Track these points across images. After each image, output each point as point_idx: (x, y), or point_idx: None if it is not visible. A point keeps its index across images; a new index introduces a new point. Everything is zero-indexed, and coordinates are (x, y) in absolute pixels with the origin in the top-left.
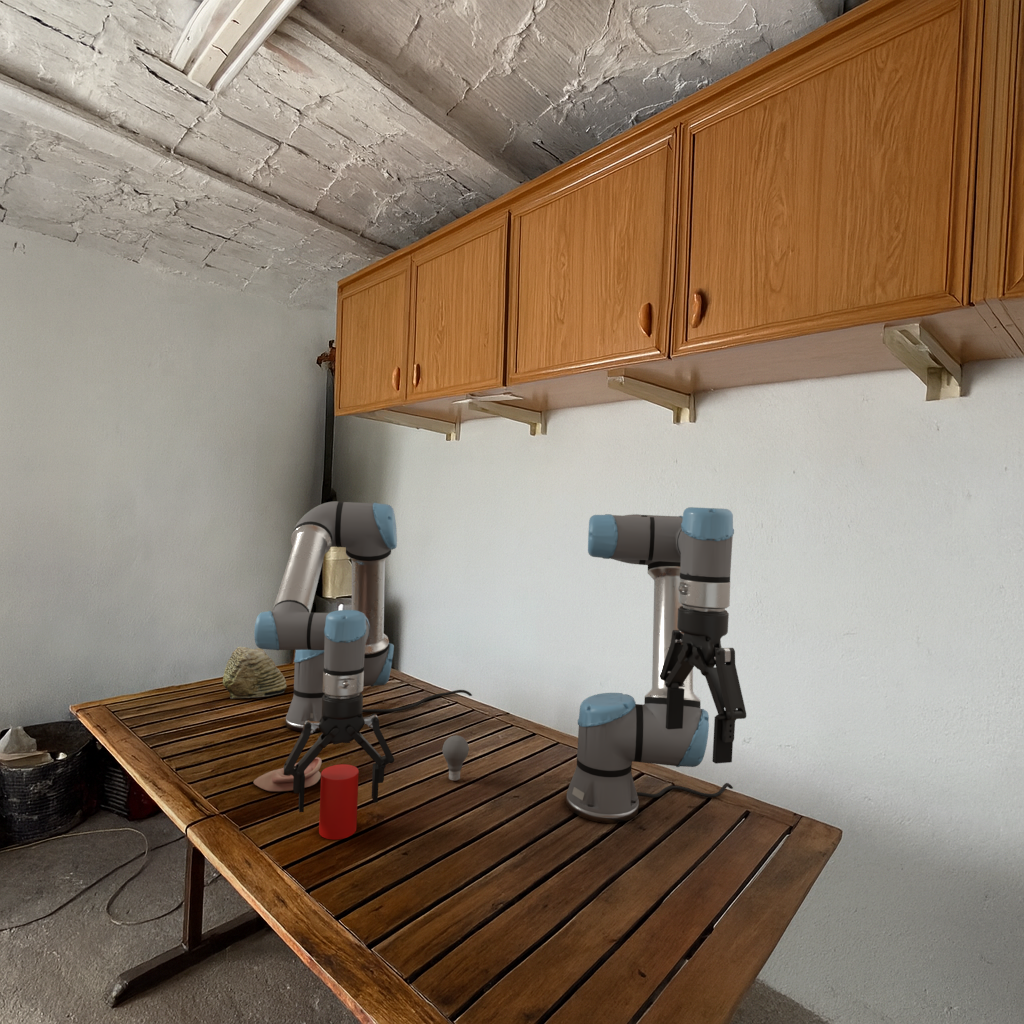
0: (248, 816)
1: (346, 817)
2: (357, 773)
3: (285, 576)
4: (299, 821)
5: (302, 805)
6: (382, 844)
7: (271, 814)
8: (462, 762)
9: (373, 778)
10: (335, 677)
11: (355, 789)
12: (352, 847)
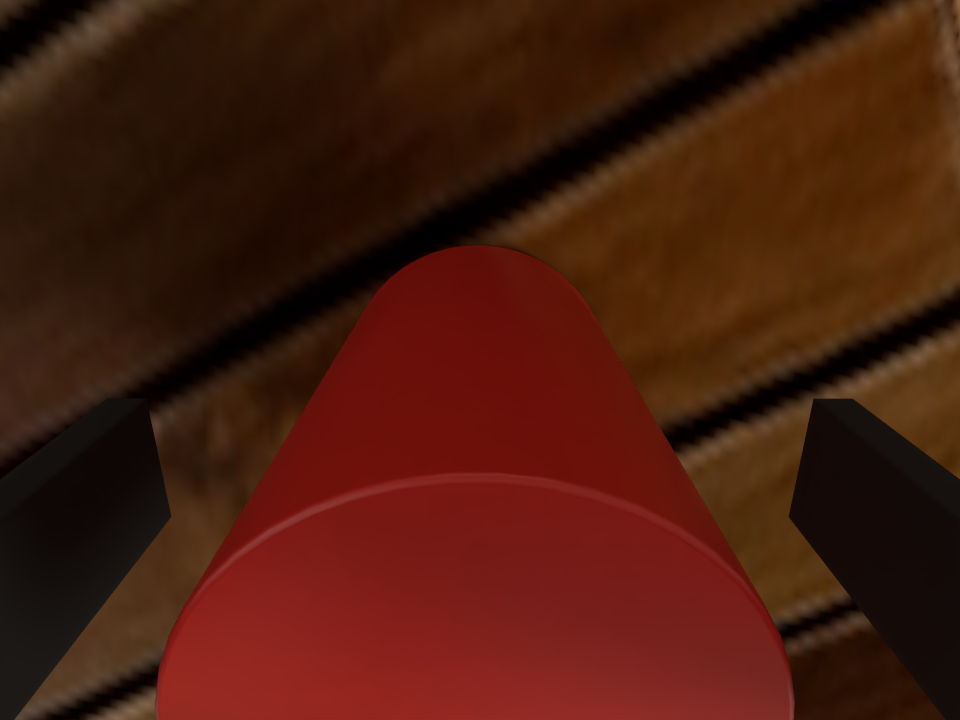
0: None
1: (423, 287)
2: (171, 637)
3: None
4: None
5: (861, 429)
6: (170, 79)
7: (830, 642)
8: None
9: (17, 611)
10: None
11: (280, 451)
12: (398, 105)
